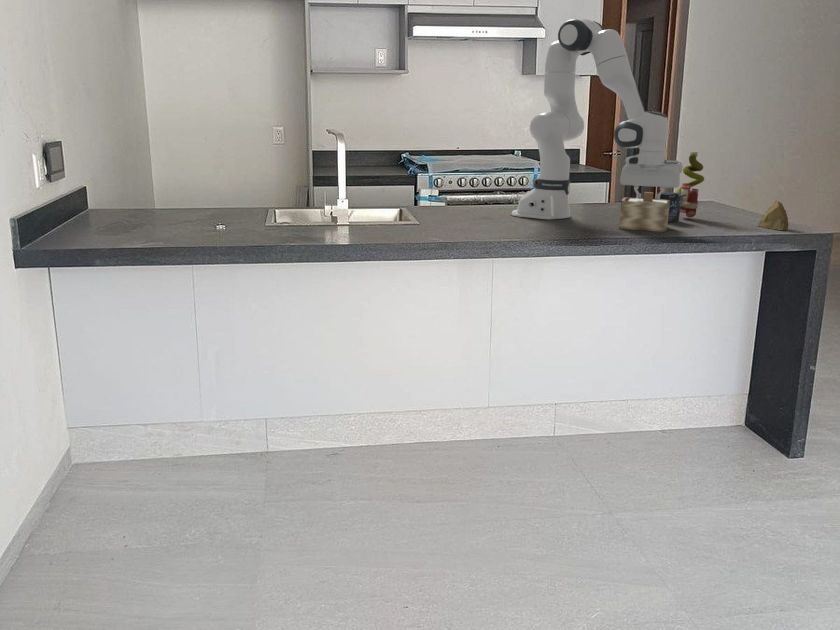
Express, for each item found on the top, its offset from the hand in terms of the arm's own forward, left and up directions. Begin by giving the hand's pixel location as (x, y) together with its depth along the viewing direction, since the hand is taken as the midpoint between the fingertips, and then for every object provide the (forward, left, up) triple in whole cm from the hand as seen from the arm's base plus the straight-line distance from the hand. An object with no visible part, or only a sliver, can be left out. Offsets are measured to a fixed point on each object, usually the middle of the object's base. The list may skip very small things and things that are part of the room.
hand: (647, 199), depth 280 cm
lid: (0, 0, -2) cm, 2 cm away
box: (+6, +19, -11) cm, 23 cm away
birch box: (-1, 0, -10) cm, 10 cm away
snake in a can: (+13, +28, -10) cm, 33 cm away
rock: (+43, +18, -11) cm, 48 cm away
